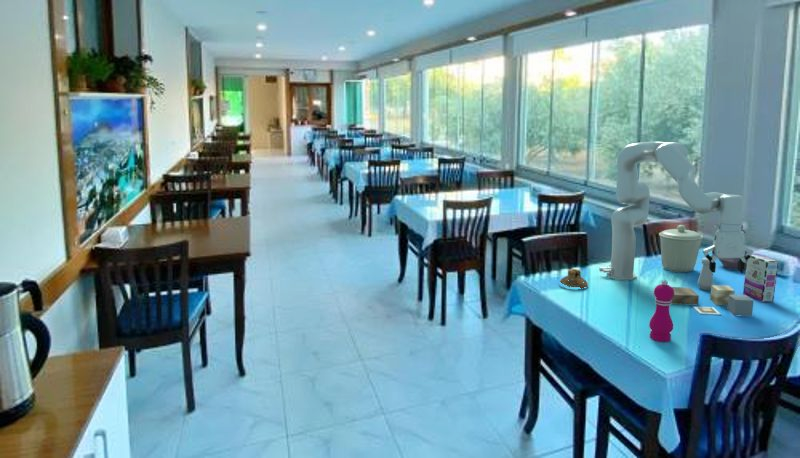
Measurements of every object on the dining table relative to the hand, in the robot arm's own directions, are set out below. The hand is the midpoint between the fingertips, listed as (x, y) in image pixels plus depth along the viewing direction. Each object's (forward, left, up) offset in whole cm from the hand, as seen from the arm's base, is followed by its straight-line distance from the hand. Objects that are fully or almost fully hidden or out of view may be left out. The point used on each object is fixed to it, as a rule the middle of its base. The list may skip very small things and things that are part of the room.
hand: (726, 271), depth 213 cm
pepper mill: (-33, -38, -13) cm, 52 cm away
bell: (-53, +16, -13) cm, 57 cm away
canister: (-2, +45, -13) cm, 47 cm away
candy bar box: (+16, +7, -13) cm, 21 cm away
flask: (+25, +51, -13) cm, 58 cm away
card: (-9, -10, -12) cm, 19 cm away
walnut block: (-15, +2, -13) cm, 20 cm away
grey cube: (+2, -11, -13) cm, 17 cm away
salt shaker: (0, +17, -13) cm, 22 cm away
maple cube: (0, 0, -13) cm, 13 cm away
